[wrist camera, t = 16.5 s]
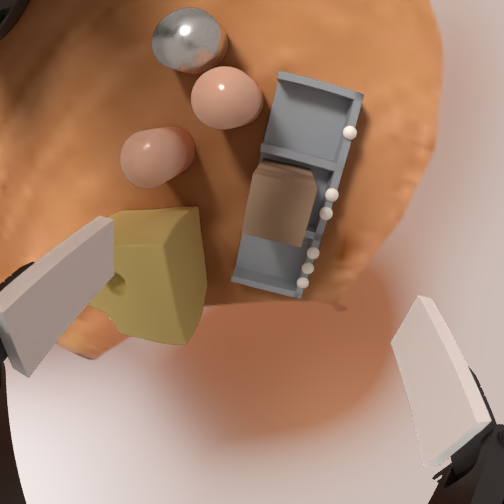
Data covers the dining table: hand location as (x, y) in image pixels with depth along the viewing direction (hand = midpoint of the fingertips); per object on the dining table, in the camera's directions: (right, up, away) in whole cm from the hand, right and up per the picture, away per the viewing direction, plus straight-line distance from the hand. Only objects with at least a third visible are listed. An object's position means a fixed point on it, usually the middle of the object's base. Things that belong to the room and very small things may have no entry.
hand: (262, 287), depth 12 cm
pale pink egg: (-2, +15, +14) cm, 21 cm away
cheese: (-10, +2, +22) cm, 24 cm away
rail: (+4, +8, +17) cm, 19 cm away
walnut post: (+2, +8, +16) cm, 18 cm away
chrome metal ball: (-6, +21, +12) cm, 25 cm away
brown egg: (-8, +11, +17) cm, 22 cm away
